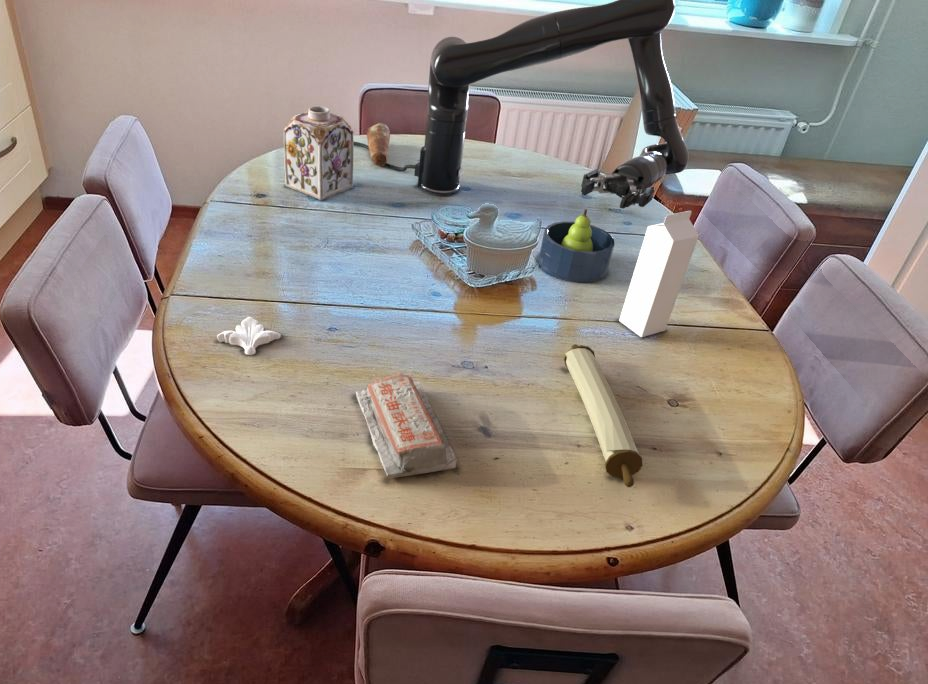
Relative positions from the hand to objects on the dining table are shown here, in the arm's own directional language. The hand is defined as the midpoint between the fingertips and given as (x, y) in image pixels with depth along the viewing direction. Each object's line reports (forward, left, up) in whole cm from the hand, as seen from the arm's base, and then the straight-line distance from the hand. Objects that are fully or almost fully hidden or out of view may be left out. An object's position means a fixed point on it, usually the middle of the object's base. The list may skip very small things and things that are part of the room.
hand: (602, 197), depth 141 cm
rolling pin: (+17, -53, -13) cm, 57 cm away
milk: (+17, -22, -13) cm, 31 cm away
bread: (-64, +22, -13) cm, 68 cm away
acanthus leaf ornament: (-38, -65, -13) cm, 77 cm away
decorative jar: (-64, -6, -13) cm, 66 cm away
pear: (-1, -7, -12) cm, 14 cm away
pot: (-1, -7, -13) cm, 15 cm away
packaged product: (-6, -71, -13) cm, 73 cm away
